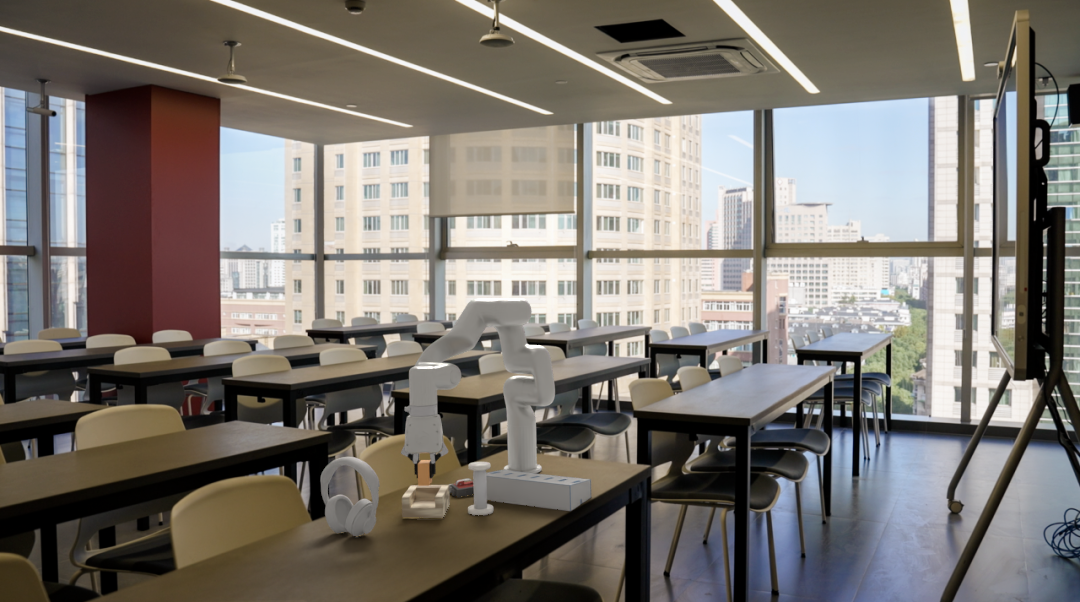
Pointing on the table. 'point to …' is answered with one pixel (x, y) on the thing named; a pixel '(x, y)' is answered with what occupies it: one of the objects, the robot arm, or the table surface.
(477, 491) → the bobbin
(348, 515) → the headphones
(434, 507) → the beige armchair
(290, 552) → the table surface
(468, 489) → the toolbox
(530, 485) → the warehouse
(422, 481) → the orange rectangular block
